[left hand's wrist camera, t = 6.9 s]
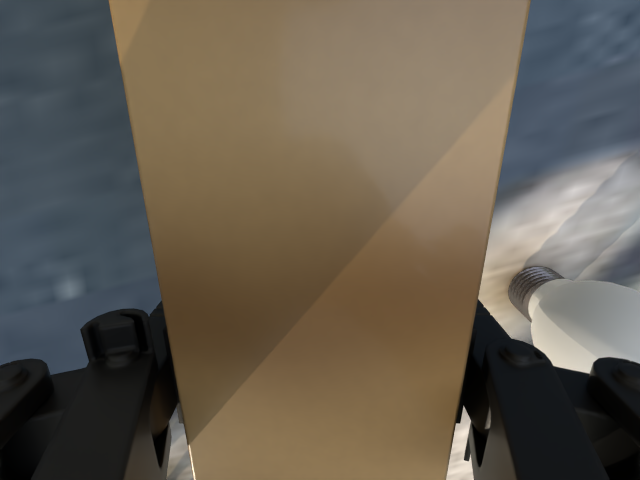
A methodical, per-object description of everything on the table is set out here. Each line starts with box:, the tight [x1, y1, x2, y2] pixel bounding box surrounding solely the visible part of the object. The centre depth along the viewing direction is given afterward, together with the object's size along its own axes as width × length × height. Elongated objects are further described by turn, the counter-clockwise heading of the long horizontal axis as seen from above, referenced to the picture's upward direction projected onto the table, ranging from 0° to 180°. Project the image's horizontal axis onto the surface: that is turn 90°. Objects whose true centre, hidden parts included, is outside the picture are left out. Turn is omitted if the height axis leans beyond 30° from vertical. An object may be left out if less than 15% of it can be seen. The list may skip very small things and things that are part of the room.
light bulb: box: [508, 267, 640, 373], centre depth 21 cm, size 7×7×11 cm
